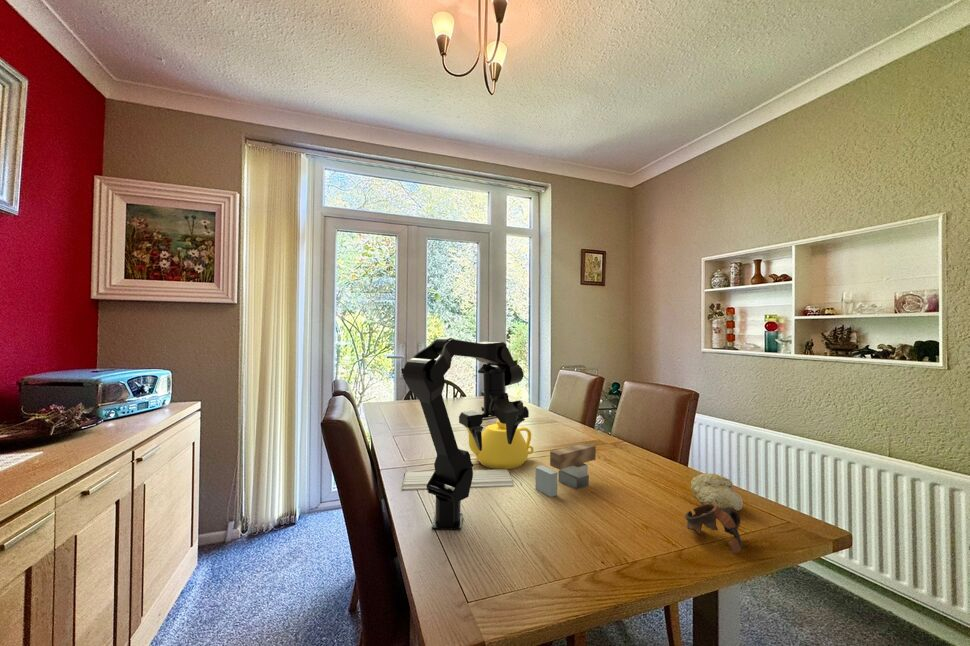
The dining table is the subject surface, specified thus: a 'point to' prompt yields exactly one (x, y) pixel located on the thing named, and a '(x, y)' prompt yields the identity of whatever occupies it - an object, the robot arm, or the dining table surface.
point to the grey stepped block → (575, 476)
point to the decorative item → (716, 491)
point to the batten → (572, 455)
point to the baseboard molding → (479, 480)
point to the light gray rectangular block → (546, 481)
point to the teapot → (501, 447)
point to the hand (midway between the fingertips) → (495, 447)
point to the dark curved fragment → (710, 522)
